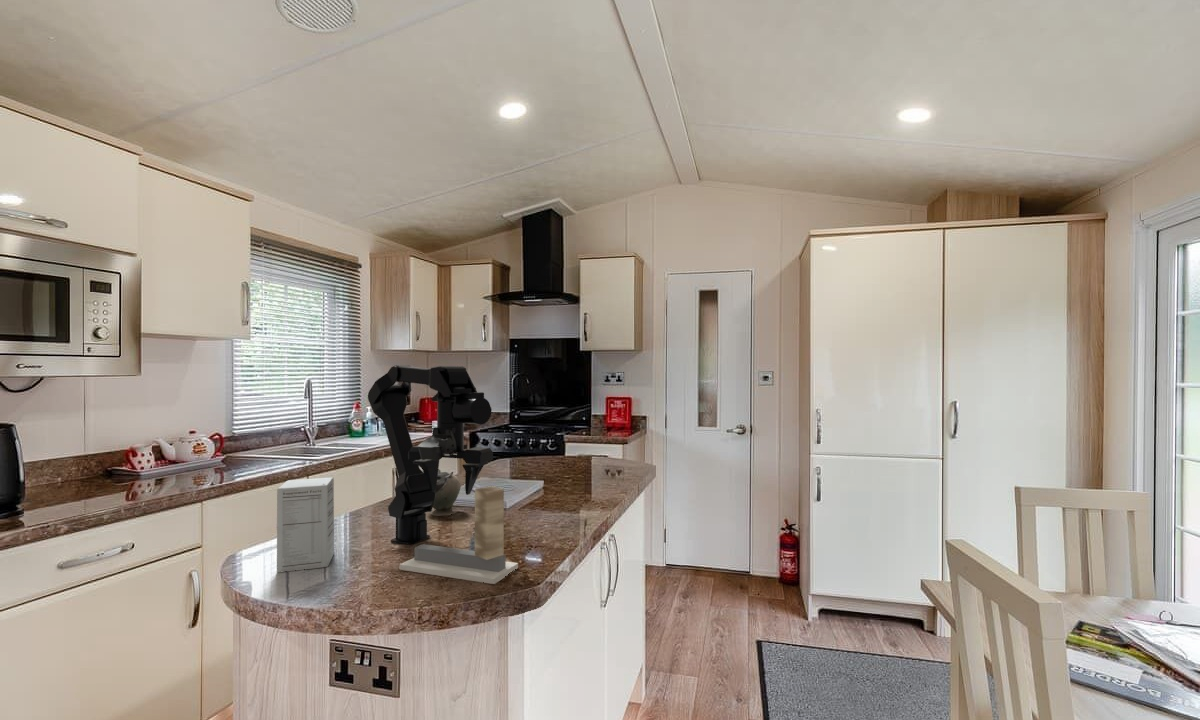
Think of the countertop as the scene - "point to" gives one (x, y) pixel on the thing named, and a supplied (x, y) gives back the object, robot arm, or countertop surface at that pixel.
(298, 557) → the supplement box
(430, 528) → the countertop surface
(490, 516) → the brass post
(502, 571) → the ridge stand
